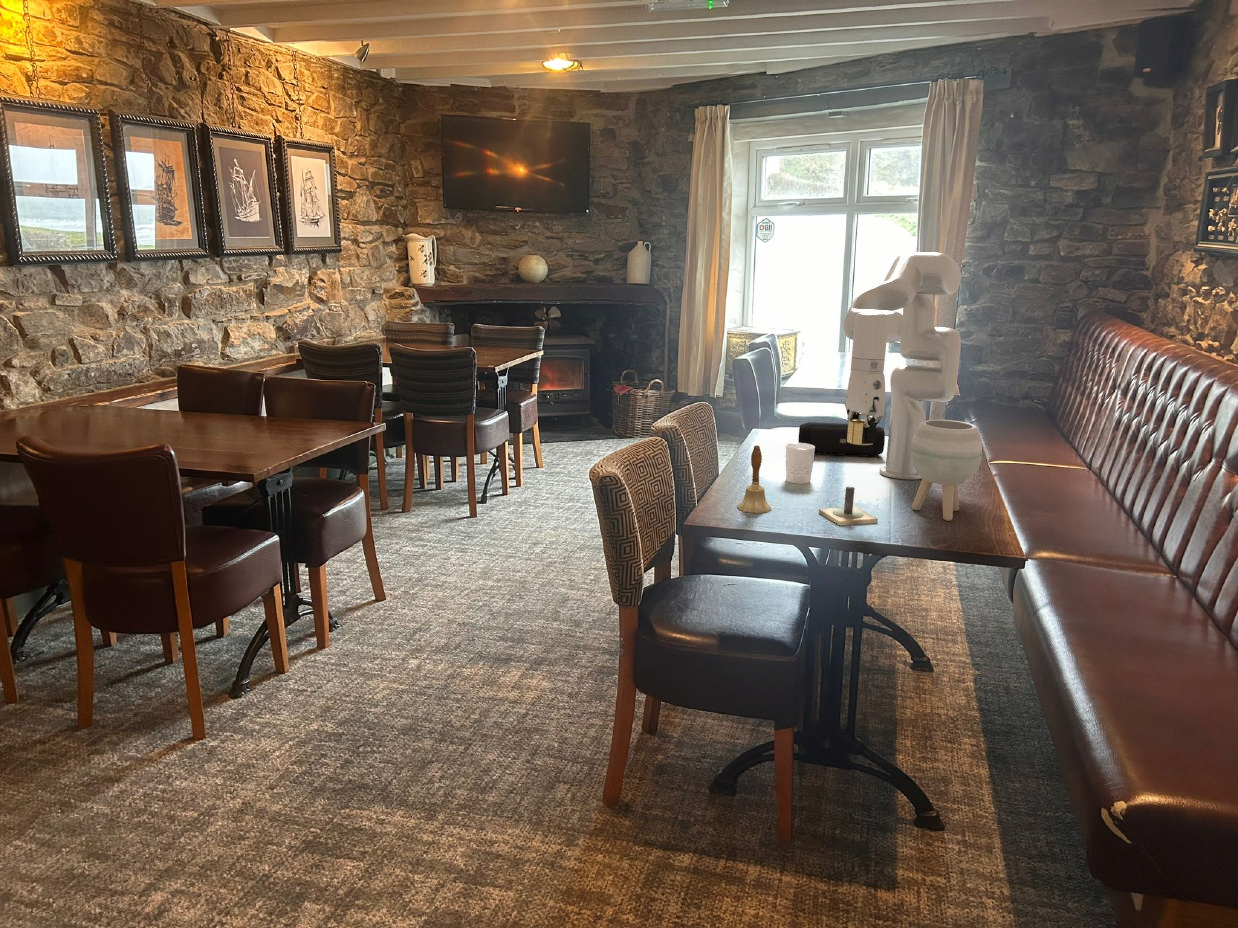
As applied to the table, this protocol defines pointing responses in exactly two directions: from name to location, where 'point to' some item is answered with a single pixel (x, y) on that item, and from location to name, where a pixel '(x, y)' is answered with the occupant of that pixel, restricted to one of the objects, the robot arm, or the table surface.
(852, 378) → the robot arm
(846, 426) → the portable speaker
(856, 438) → the collar
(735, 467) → the table surface
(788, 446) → the white cup
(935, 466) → the planter
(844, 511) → the post stand
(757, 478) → the hand bell
